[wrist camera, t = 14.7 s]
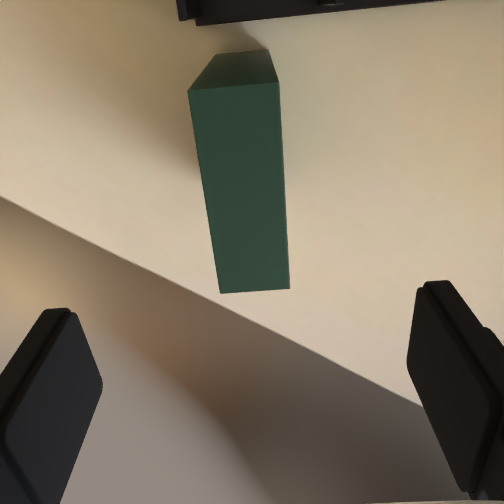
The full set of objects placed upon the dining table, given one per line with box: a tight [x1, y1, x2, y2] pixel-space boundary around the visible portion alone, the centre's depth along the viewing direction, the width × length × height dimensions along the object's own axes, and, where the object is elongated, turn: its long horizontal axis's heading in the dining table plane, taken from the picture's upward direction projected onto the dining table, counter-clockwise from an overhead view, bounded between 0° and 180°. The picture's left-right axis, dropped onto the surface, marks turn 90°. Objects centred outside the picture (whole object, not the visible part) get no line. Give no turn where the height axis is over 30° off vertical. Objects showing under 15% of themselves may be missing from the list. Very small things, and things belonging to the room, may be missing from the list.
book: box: [187, 50, 290, 294], centre depth 27 cm, size 4×11×15 cm, turn 5°
